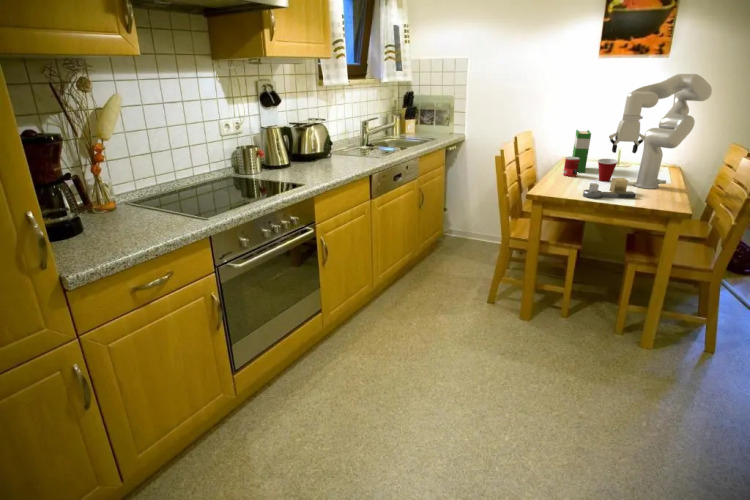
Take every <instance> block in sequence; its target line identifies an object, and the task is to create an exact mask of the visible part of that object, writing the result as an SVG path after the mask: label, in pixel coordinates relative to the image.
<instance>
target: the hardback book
mask: <svg viewBox="0 0 750 500" xmlns="http://www.w3.org/2000/svg"><path fill="white" fill-rule="evenodd" d="M591 137H592V133H591V131H590V130H589V129H587V130H586V131H585V130H583V131H582V130H581V131H580V130H578V129H576V130H575V136H574V143H573V150H572V154H571V155H572V156H571V157H578V158H580V160H579V166H578V173H579V174H585V173H586V167H587V162H588V154H589V150H590V143H591V139H592V138H591ZM578 173H577V174H578Z"/></svg>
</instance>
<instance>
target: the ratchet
mask: <svg viewBox="0 0 750 500" xmlns="http://www.w3.org/2000/svg"><path fill="white" fill-rule="evenodd" d="M636 196H637V194H636V193H635V192H634V191H628V190H626V191H616V192H611V191H602V190H599V184H598V183H593V182H591V183H589V189H584V190H583V193H582V197H584V198H587V199H592V200H593V199H594V200H597V199H604V198H605V199H636Z"/></svg>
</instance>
